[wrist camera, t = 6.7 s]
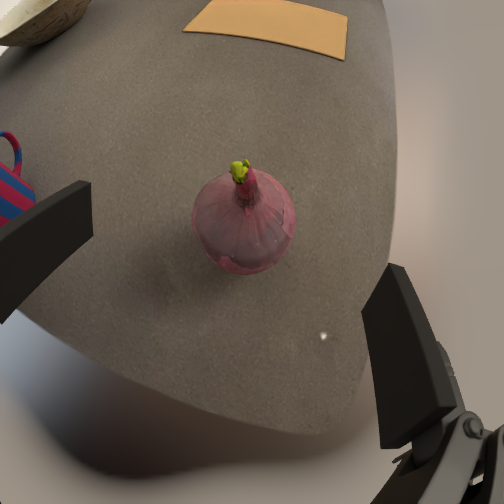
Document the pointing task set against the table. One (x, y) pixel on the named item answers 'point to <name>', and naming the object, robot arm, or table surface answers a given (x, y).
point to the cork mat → (275, 24)
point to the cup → (13, 186)
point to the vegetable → (244, 220)
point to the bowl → (39, 20)
